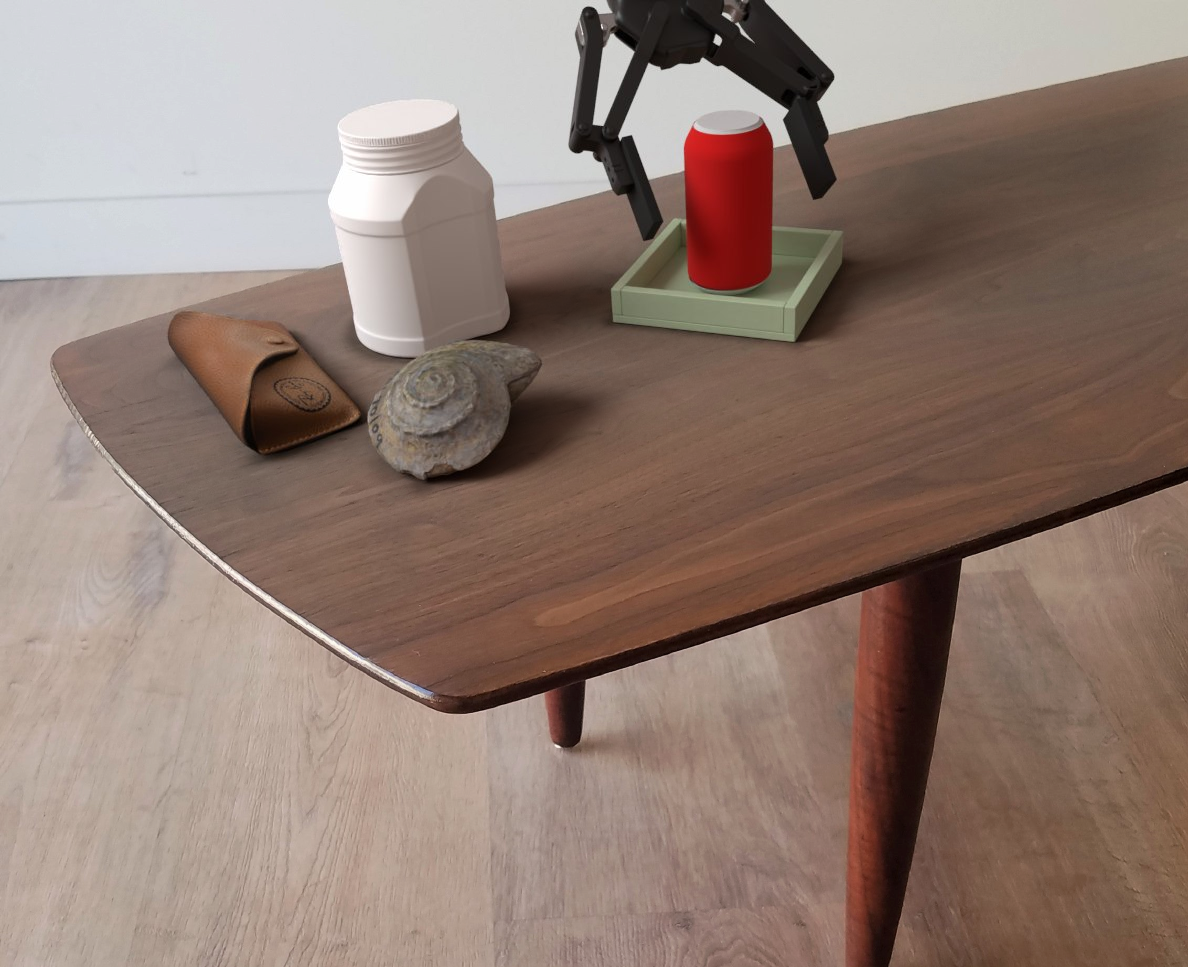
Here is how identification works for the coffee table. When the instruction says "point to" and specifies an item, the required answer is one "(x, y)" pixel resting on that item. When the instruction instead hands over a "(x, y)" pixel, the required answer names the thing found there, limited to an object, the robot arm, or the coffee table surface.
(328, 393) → the sunglasses case
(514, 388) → the fossilized seashell
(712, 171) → the beverage can
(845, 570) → the coffee table surface
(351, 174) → the jar
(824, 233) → the drinks tray
